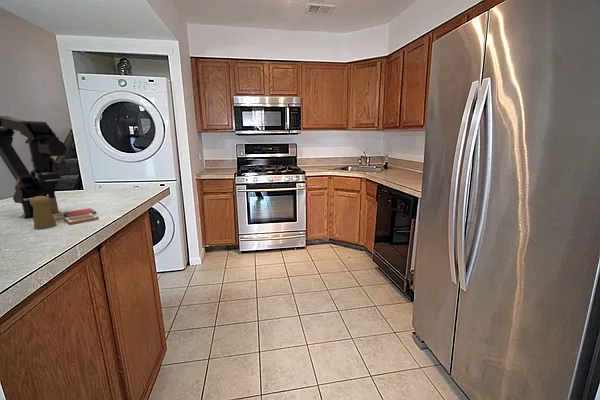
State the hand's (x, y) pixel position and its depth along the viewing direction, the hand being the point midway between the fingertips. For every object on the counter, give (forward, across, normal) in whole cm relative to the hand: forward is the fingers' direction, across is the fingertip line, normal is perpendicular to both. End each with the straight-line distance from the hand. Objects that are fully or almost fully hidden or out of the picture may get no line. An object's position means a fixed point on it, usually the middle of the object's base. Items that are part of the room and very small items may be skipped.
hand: (49, 196), depth 111 cm
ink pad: (+9, -2, -8) cm, 12 cm away
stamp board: (+9, -12, -6) cm, 16 cm away
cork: (+9, -12, +4) cm, 15 cm away
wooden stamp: (+9, 0, 0) cm, 9 cm away
